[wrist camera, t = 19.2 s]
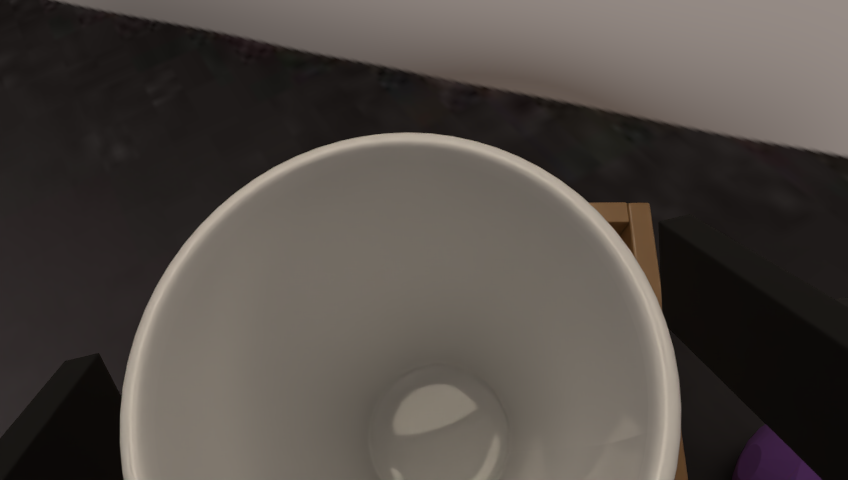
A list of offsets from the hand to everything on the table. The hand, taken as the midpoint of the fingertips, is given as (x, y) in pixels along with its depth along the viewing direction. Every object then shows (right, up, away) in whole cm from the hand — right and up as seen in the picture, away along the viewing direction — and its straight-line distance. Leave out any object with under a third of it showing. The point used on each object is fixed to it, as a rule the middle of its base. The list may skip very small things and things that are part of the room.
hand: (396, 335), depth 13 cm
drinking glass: (+1, -5, +7) cm, 9 cm away
